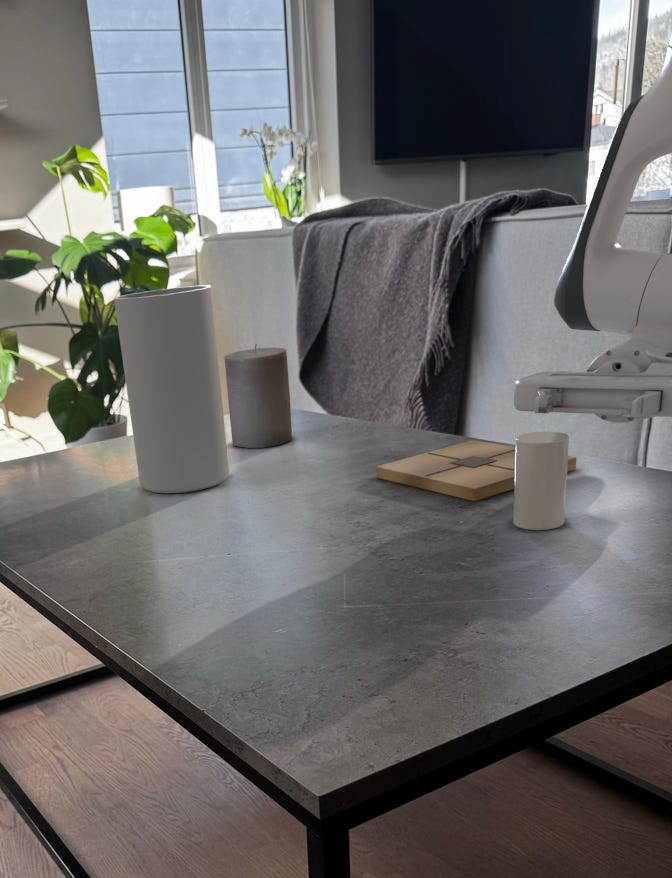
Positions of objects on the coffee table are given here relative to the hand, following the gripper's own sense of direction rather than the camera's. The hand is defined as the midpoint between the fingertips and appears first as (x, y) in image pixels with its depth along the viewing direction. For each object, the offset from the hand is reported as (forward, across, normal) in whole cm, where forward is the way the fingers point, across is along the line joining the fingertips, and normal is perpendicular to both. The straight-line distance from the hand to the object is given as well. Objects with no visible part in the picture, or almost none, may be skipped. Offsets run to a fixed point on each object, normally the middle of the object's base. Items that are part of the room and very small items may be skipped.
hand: (583, 407), depth 100 cm
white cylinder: (+12, 0, +9) cm, 15 cm away
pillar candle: (-12, -54, +10) cm, 56 cm away
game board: (-4, -14, +10) cm, 17 cm away
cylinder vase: (+11, -50, +10) cm, 52 cm away
